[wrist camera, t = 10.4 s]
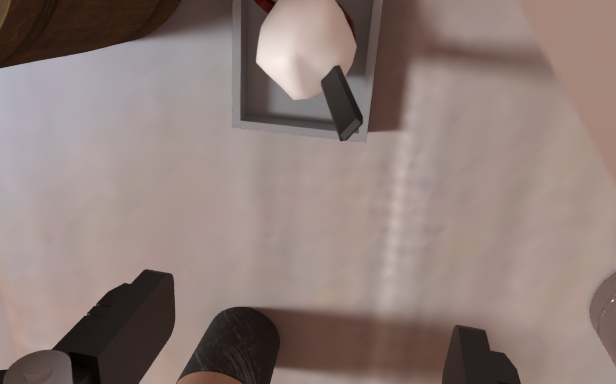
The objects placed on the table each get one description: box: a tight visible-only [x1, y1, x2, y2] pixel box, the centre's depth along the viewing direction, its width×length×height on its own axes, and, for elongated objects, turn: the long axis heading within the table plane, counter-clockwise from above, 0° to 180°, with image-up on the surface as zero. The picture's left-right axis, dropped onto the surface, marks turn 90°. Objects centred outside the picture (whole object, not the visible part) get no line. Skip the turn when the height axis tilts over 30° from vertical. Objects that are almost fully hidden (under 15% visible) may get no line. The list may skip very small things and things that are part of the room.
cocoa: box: [254, 0, 363, 141], centre depth 29 cm, size 10×6×12 cm, turn 28°
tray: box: [232, 0, 383, 142], centre depth 34 cm, size 10×13×2 cm
